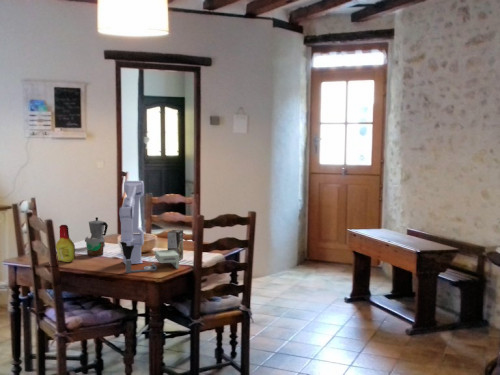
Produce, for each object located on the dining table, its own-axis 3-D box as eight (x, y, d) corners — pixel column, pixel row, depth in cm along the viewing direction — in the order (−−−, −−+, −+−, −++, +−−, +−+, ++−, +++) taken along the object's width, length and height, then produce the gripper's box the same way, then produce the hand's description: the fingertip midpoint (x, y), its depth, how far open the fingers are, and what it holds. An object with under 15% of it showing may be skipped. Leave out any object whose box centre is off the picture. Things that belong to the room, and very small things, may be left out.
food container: (80, 255, 321) (80, 238, 320) (87, 253, 327) (87, 236, 326) (98, 257, 317) (98, 239, 316) (105, 255, 322) (104, 238, 321)
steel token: (144, 270, 290) (144, 268, 290) (143, 268, 295) (143, 266, 295) (154, 269, 291) (154, 268, 291) (153, 267, 296) (153, 265, 296)
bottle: (53, 261, 307) (52, 224, 305) (62, 259, 312) (61, 222, 310) (68, 263, 301) (68, 226, 299) (77, 261, 306) (77, 224, 304)
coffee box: (178, 262, 308) (178, 232, 307) (167, 261, 309) (167, 232, 308) (183, 258, 317) (183, 229, 316) (172, 257, 318) (172, 229, 317)
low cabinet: (160, 270, 290) (159, 256, 289) (155, 263, 304) (154, 250, 303) (179, 268, 293) (179, 255, 292) (173, 262, 307) (173, 249, 306)
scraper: (126, 273, 283) (126, 261, 282) (123, 268, 293) (123, 256, 293) (157, 271, 288) (157, 259, 287) (153, 266, 298) (153, 254, 298)
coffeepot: (83, 246, 346) (83, 217, 344) (95, 244, 354) (94, 215, 352) (101, 249, 338) (101, 219, 336) (113, 246, 346) (113, 217, 344)
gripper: (137, 232, 276) (137, 260, 278) (133, 227, 290) (133, 253, 291) (122, 233, 274) (122, 261, 275) (118, 228, 288) (119, 254, 289)
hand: (127, 257), depth 283 cm, fingers open, 7 cm apart
